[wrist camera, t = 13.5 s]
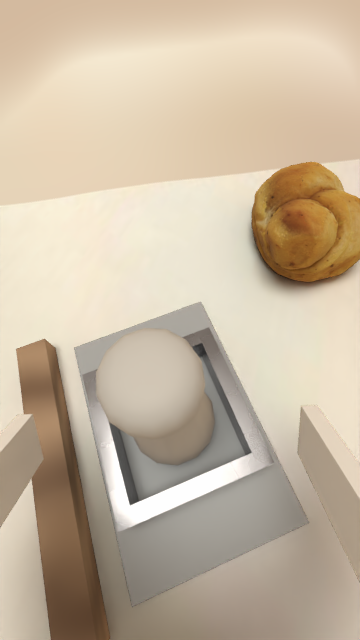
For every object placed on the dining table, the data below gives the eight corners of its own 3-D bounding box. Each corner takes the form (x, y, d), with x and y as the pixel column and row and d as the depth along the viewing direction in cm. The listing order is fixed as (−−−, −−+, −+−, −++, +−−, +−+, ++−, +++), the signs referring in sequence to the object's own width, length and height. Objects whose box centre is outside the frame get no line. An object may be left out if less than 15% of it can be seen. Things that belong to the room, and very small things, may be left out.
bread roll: (236, 203, 33) (246, 131, 26) (321, 193, 33) (353, 117, 26) (262, 299, 27) (283, 239, 20) (365, 286, 27) (423, 222, 20)
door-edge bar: (28, 357, 26) (16, 348, 24) (55, 347, 26) (44, 338, 25) (70, 657, 17) (55, 678, 15) (109, 637, 17) (99, 656, 16)
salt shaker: (175, 370, 24) (151, 278, 13) (229, 421, 22) (260, 365, 10) (121, 425, 22) (37, 375, 11) (174, 485, 20) (140, 503, 9)
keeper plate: (76, 350, 26) (59, 333, 23) (200, 304, 27) (200, 282, 24) (134, 603, 18) (119, 631, 15) (306, 521, 19) (327, 530, 16)
